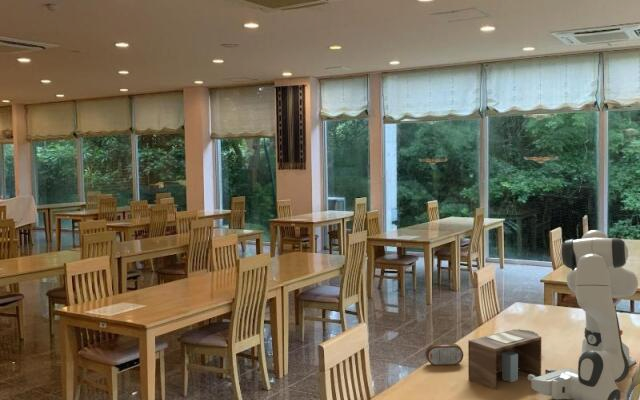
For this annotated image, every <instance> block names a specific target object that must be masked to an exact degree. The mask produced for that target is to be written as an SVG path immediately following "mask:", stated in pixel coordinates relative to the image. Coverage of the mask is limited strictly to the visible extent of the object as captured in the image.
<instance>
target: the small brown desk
mask: <svg viewBox="0 0 640 400" xmlns="http://www.w3.org/2000/svg"><path fill="white" fill-rule="evenodd" d="M467 343H468V344H467V346H468V351H467V352H468V354H467V355H468V365H467V366H468V370H467V371H468V380H469V381H471V382H474V383H476V384H478V385H481V386H484V387H487V388H490V389H491V390H494V391H495V390H497V374H498V373H499V372H502V353H504V352H508V351H511V352H514V353H517V354H518V370H522V371H524V372H527V373H530V374H533V375H535V376H541V375H542V336H540V335H539V336H537V335H533V334H530V333H526V332H522V331H519V330H518V329H511V330H506V331H503V332H497V333H494V334H490V335H485V336H482V337H477V338H474V339H469V340H468V341H467Z"/></svg>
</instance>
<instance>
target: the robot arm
mask: <svg viewBox="0 0 640 400" xmlns="http://www.w3.org/2000/svg"><path fill="white" fill-rule="evenodd" d="M559 255H560V259H561V261H562V264H563V265H564V266H565V267H566V268H568V269H570V270H568V272H567V276H566V284H567V287H568V288H569V289H570V291H572V292H573V293H574V294H575V297H576V300H577V301H576V302H577V305H578V306H579V307H580V308H581V309H582V311H584V314H585V328H584V331H583V332H584V333H583V334H584V339H583V340H582V345H581V353H580V354H581V355H579V356H578V363H577V370H575V369H573V368H571V367H570V368H569V367H565V368H562V369H551V368H547V369H545V370H544V371H545V372H544V374H541V376H539V375H537V376H536V374H533V373H530V374H528V375H527V380H529V381H530V384H531V389H532V390H534V391H535V392H537V393H540V394H543V395H546V396H551V399H554V400H621V396H622V393H621V389H619V387H618V386H617V384H616V383H620V382H622V381H624V380H625V379H626V378H627V377H628V374H629V372H630V367H631V366H632V365H634V364H635V363H636V362H637V359H636V358H633V357H631V356H630V349H629V346H628V345H626V343H624V342H623V341H622V335H623V333H624V331H623V329H620V322H619V318H618V314H617V310H616V307H615V305H614V302H613V301H614V300H613V297H615V298H621V297H631V296H633V295H634V294H635V293H636V292H637V290H638V288H639V287H638V286H639V281H638V277H637V276H636V274H635V272H633V271H631V270H629V269H626V268H624V266H625V265H626V264H627V261H628V259H629V249H628V246H627V245H626V243H625V241H624V240H623V239H621V238H618V237H608V235H607V234H606V233H605V232H603V231H602V230H598V229H594V230H593V229H592V230H588V231H587V232H585V233H583V235H582V236H581V238H577V239H575V238H571V239H567V240H564V242H562V244H561V248H560V251H559Z"/></svg>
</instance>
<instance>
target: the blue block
mask: <svg viewBox="0 0 640 400" xmlns="http://www.w3.org/2000/svg"><path fill="white" fill-rule="evenodd" d="M501 374H502V376H501V378H502V380H504V381H506V382H509V383H511V382H515V381H519V369H518V354H517V353H514V352H511V351H508V352H504V353H502V371H501Z"/></svg>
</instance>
